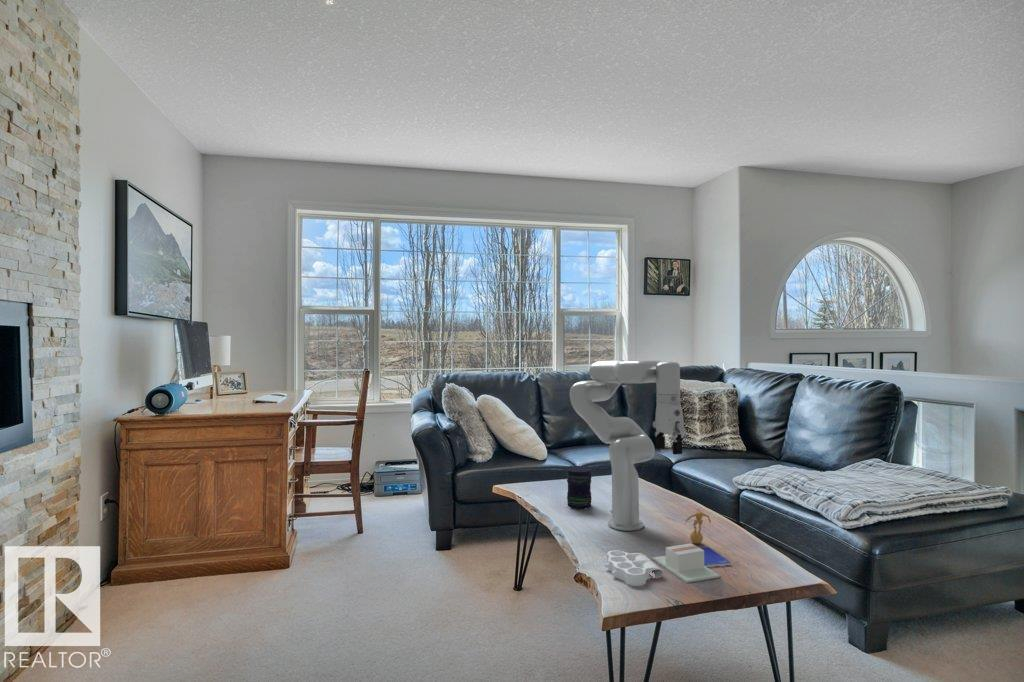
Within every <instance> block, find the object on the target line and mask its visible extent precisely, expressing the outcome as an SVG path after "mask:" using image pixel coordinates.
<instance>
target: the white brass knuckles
mask: <svg viewBox="0 0 1024 682" xmlns="http://www.w3.org/2000/svg"><path fill="white" fill-rule="evenodd" d="M603 566H604V567H605V568H607V569H608V572H610V571H611V572H610V574H611V575H613V577H614V576H615V577H614V578H616V579H618V580H622V581H623V582H625V584H626V585H628V586H633V587H634V586H635V587H639V586H644V585H646V583H647V580H651V579H650V578H653V579H654V577H653V576H651V575H650V574H649V573H650V572H651V571H652V573H653V572H654V574H655V578H656V579H659V578H661V577H663V576H664V570H663V568H661V567H659V566H658V565H657V564H656V563H655V562H654V561H652V560H651V559H649V557H648V556H647V555H645V554H644V553H642V552H626V551H623V550H618V549H617V550H615V549H614V550H609V551H608V552H607V553H606V563H605V564H603Z"/></svg>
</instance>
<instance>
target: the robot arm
mask: <svg viewBox="0 0 1024 682" xmlns="http://www.w3.org/2000/svg"><path fill="white" fill-rule="evenodd" d="M588 372H589V377H590V378H591V379H592V380H582V381H577V382H575V383H574V384H572V385H571V387H570V388H569V399H570V404H571V406H572V409H573V410H574V411H575V412H576V414H577V415H578V416H579V417H581V419H583V420H584V422H585V423H586V424H587V425H588V426H589V428H590V429H591V430H592V431H593V432H594V434H595V435H596V436H597V438H599V440H601V442H602V443H604V444H607V445H608V444H609V447H608V456H609V462H610V467H611V509H610V511H609V512H610V514H611V518H610V519H608V520H607V525H608V527H610V528H612V529H614V530H618V531H624V532H625V531H627V532H629V531H631V532H632V531H633V532H634V531H638V530H642V529H643V528H644V527H645V526H644V521H642V520H641V519H640V489H639V488H640V482H639V481H640V479H639V474H638V471H637V469H636V467H635V464H638V463H645V462H647V461H650V460H652V459H653V457H654V456H655V454H656V453H655V452H656V451H655V449H656V450H657V449H658V450H660V449H665V448H666V436H665V434H666V435H668V436H671V438H672V440H673V441H672V454H673V455H682V454H683V442H684V439H685V436H686V432H687V430H686V428H685V425H684V412H683V408H682V404H681V366H680V363H678V362H676V361H661V360H635V361H633V360H632V361H626V360H624V359H618V360H617V359H615V360H614V359H613V360H598V361H595V362H593V363H592V364H591V365H590V367H589V371H588ZM649 383H650V384H651V383H652V384H653V383H655V385H656V389H655V390H656V408H655V420H654V421H652V427H653V431H654V436H655V445H654V442H653V441H652V439H651V437H649V435H648V434H647V433H646V432H645V431H644V430H643V429H642V428H641V427H640V425H639V424H637V422H635V421H634V419H632V418H630V417H627V416H617V417H613V416H611V415H610V414H609V413H608V412H607V411H606V410H605V409H604V408H603V407H602V406H600V405H599V404H597V402H605V401H607V400H609V399H611V398H612V396H613V395H614V393H616V391H617V389H618V388H619V387H620V386H621V384H649ZM595 402H596V403H595Z"/></svg>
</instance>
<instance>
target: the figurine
mask: <svg viewBox="0 0 1024 682" xmlns="http://www.w3.org/2000/svg"><path fill="white" fill-rule="evenodd" d="M693 517H695V518H696V519H694V521H693V522H692V523H693V524H692V525H693V528H694V530H693V531H692V532H691V533H690V536H689V538H690V541H691V542H692V544H694V545H695V544H697V545H698V544H699V545H700V544H701V543H702V542H703V540H704V537H703V534H702V533H701V530H702V524H703V522H704V521H703V520H702V518H703V517H706V518H707V519H708V522H709V524H711V523H712V521H711V519H710V516H709V515H707V514H706V513H704V512H702V511H701V509H700V508H697V509H696V512H695V513H693V514H691V515H690V516H689V517H688V518H687V519H686V520H685V524H686V523H687V522H688V521H689V520H690V519H691V518H693ZM696 525H698V528H699V529H698V530H697V526H696Z"/></svg>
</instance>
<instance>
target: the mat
mask: <svg viewBox="0 0 1024 682" xmlns="http://www.w3.org/2000/svg"><path fill="white" fill-rule="evenodd" d="M652 560H653V561H654V560H655V563H657V562H658V563H657V564H659V565H660V564H661V565H660V566H661V567H663V568H664V567H665V568H664V569H666V570H667V571H669V572H670V573H672V574H674V575H675V576H676V577H678V579H680V580H682V581H683V582H685V583H686V584H688V583H694V582H695V583H696V582H700V581H708V580H713V579H718V578H719V579H720V578H721V575H720V574H719V573H717V572H715V571H714V570H712V569H711V568H710V567H708V568H707V567H706V566H704V568H699V569H694V570H688V571H683V572H677V571H676V570H674V569H673V568H671V567H669V566H668V565H666V555H663V556H662V555H660V556H655V557H652Z"/></svg>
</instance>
